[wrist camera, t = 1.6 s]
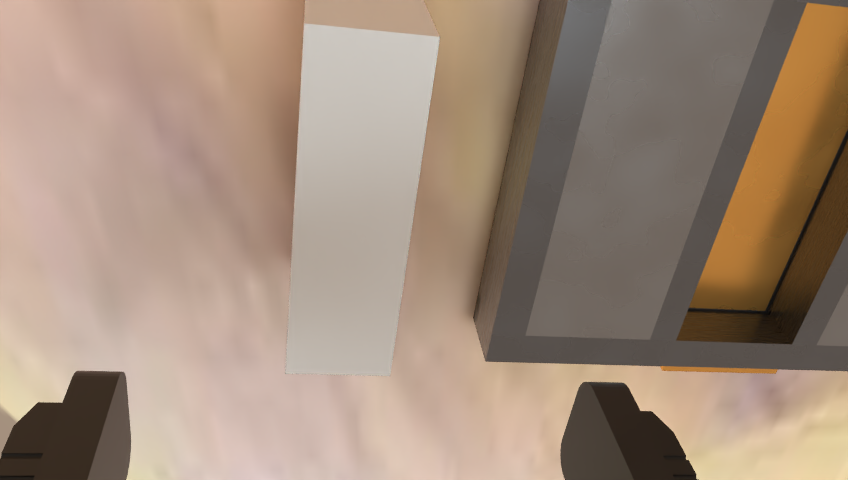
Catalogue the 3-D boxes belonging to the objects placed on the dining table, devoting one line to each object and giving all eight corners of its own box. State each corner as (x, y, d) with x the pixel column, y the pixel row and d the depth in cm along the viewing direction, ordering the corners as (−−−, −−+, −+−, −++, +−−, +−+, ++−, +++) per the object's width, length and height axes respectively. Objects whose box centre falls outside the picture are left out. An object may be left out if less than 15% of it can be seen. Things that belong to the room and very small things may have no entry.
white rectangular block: (411, -27, 22) (440, 36, 17) (376, 262, 27) (390, 376, 22) (307, -38, 22) (304, 23, 17) (290, 258, 27) (285, 373, 22)
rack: (1098, -19, 25) (1171, 2, 23) (893, 338, 32) (933, 379, 30) (559, -90, 22) (585, -74, 19) (472, 323, 29) (483, 367, 27)
